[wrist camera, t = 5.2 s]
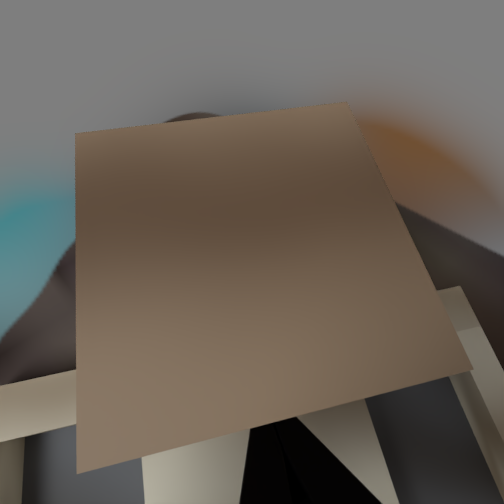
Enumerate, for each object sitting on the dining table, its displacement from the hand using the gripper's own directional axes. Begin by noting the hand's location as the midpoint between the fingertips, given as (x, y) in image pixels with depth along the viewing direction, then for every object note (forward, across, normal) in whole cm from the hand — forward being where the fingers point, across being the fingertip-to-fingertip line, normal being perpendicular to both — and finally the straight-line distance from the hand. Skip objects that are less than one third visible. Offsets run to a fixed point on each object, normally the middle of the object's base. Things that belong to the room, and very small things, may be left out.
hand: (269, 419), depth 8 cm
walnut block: (+6, 0, +1) cm, 6 cm away
